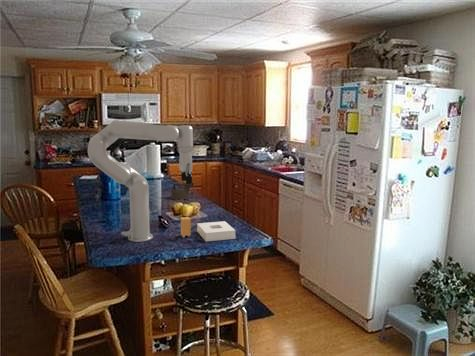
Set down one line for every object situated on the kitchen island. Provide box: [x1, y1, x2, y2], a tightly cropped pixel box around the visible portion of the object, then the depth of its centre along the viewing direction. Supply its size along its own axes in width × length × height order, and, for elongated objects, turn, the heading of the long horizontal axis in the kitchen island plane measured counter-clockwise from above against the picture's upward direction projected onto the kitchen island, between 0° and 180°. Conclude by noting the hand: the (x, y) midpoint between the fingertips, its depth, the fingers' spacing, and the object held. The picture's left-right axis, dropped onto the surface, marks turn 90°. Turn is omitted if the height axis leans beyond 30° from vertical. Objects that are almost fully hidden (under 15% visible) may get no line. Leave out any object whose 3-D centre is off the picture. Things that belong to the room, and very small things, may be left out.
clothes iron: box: [171, 181, 195, 201], centre depth 297 cm, size 8×16×13 cm, turn 72°
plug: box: [180, 216, 192, 238], centre depth 211 cm, size 4×4×10 cm
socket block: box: [196, 220, 236, 243], centre depth 215 cm, size 16×18×4 cm
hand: (186, 182), depth 209 cm, fingers open, 9 cm apart
